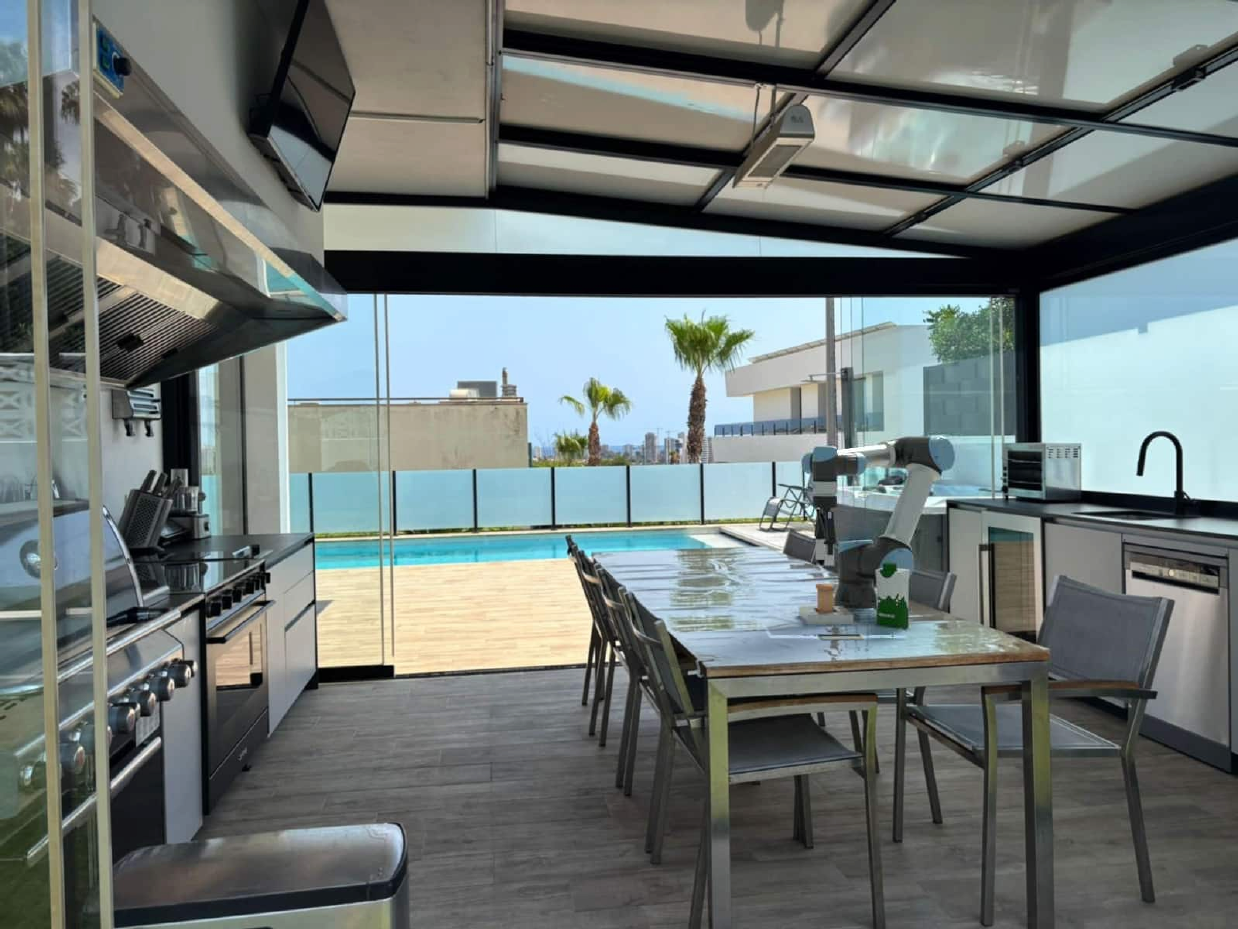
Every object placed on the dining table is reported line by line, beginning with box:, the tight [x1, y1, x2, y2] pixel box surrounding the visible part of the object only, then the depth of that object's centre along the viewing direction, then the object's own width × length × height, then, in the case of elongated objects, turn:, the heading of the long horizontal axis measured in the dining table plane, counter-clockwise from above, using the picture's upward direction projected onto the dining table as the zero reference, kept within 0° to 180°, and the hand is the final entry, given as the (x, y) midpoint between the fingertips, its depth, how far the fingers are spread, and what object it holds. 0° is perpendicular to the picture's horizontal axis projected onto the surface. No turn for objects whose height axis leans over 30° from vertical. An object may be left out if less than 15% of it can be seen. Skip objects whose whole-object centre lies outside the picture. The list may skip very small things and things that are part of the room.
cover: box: [815, 583, 836, 613], centre depth 263 cm, size 6×6×11 cm
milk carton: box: [875, 563, 910, 630], centre depth 256 cm, size 9×9×20 cm
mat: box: [816, 633, 865, 641], centre depth 246 cm, size 12×12×1 cm
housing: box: [798, 605, 855, 626], centre depth 263 cm, size 14×14×4 cm
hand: (824, 562), depth 263 cm, fingers open, 13 cm apart
